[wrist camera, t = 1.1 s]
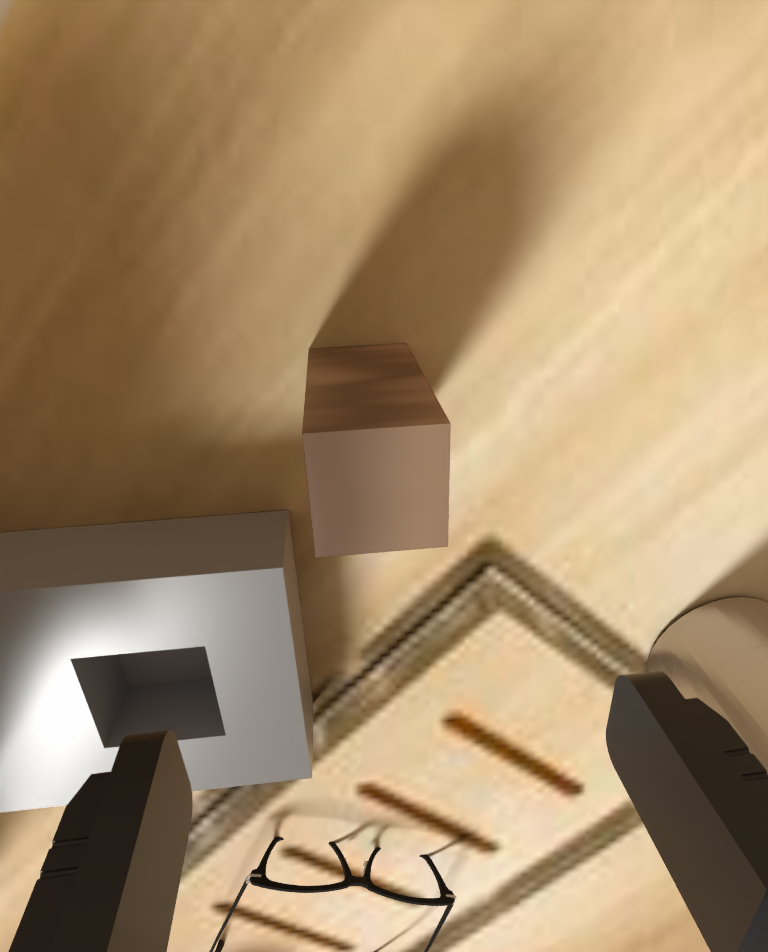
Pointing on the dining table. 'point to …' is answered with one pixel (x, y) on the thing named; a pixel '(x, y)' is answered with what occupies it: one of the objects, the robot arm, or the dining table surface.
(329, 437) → the peg
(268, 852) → the eyeglasses
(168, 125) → the dining table surface
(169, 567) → the socket
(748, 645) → the robot arm
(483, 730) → the dining table surface
